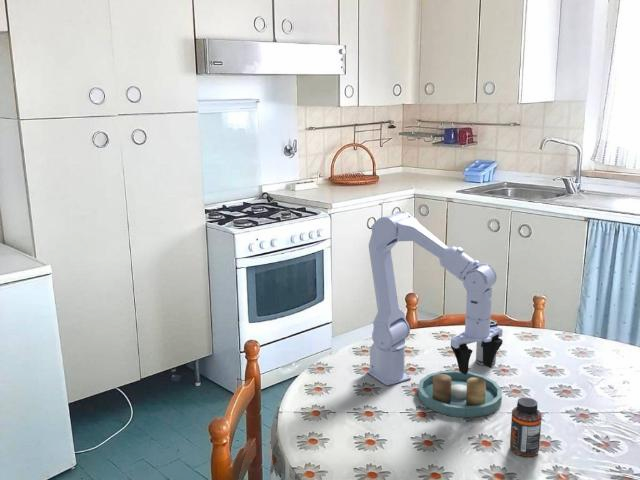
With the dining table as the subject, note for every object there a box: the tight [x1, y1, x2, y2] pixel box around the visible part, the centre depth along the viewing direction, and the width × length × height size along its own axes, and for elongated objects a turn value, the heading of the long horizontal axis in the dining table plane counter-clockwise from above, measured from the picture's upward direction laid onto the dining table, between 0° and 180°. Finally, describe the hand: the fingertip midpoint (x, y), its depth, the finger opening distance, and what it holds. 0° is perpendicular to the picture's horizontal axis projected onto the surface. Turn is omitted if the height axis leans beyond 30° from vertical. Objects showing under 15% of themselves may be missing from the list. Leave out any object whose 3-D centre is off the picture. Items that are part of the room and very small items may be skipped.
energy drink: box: [475, 318, 499, 367], centre depth 179 cm, size 5×5×12 cm
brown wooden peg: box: [432, 374, 452, 404], centre depth 157 cm, size 4×4×6 cm
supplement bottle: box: [509, 397, 542, 457], centre depth 136 cm, size 6×6×11 cm
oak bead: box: [466, 378, 486, 406], centre depth 155 cm, size 4×4×6 cm
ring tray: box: [417, 370, 503, 419], centre depth 161 cm, size 20×20×2 cm
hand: (475, 369), depth 156 cm, fingers open, 7 cm apart
